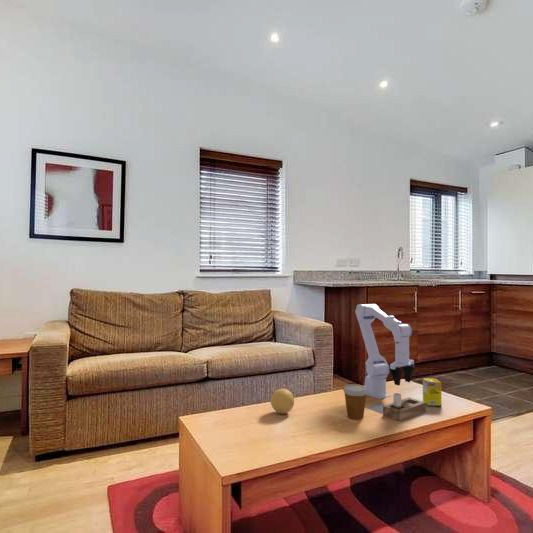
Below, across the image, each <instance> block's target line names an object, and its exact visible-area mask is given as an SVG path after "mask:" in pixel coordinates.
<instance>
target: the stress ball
mask: <svg viewBox="0 0 533 533" xmlns="http://www.w3.org/2000/svg"><path fill="white" fill-rule="evenodd" d="M270 405H271V407H272V408H273V410H274V411H275V412H276V413H278V414H280V415H286V414H287V413H289V412H291V410H293V408H294V405H295V397H294V395H293V393H292V392H291V391H290V390H289V389H287V388H278V389H276V390H274V391H273V393H272V394H271V398H270Z"/></svg>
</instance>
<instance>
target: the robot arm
mask: <svg viewBox="0 0 533 533" xmlns="http://www.w3.org/2000/svg"><path fill="white" fill-rule="evenodd" d="M355 308H356V309H355V311H354V313H355V316H356V319H357V322H358V324H359V325H358V326H359V328H360V331H361V336H362V339H363V342H364V346H365V349H366V352H367V356H368V358H367V360H366V361H365V370H366V374H367V375H366V376H365V379H364V387H366V390H367V394H366V396H369V397H372V398H375V399H378V400H382V399H385V398H388V397H390V394H388V393H387V378H388V375H389V374H391V376H392V379H393V382H394V383H393V384H394V385H395V386H400V385H401V378H402V373H403V374H404V375H403V377H404V378H403V379H404V381H405V382H407V383H411V380H412V376H413V373H414V371H415V369H416V365H415V360H414V359H410V337H411V336H412V334H413V330H412V326H411V325H410V324H409V323H403V322H402V321H401V320H398V319H397V318H395V316H394V315H387V314H386V313H385V312H384V311H383V310H381V309H380V306H379V305H377V304H376V303H365V304H361V303H359V304H357V305H356V307H355ZM375 319H378V320H380V321H381V322H382V323H383V326H384V327H385V328H386V329H387V330H389V331H390V332H391V333H392V336H393V341H394V345H395V346H394V352H395V353H394V354H395V356H394V357H395V361H394V362H391V363H390V364H388V362H387V359H386V358H385V357H383V356H382V355H381V354H380V351H379V347H378V345H377V341H376V337H375V334H374V331H373V328H372V325H371V324H372V323H373V322H374V321H375ZM400 368H402V369H400Z"/></svg>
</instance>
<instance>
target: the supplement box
mask: <svg viewBox="0 0 533 533" xmlns="http://www.w3.org/2000/svg"><path fill="white" fill-rule="evenodd" d="M422 401H423V402H426V407H431V408H434V407H435V408H442V382H441V381H439V379H437V378H422Z"/></svg>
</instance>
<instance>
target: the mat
mask: <svg viewBox="0 0 533 533" xmlns="http://www.w3.org/2000/svg"><path fill="white" fill-rule="evenodd" d="M385 405H386V404H384V403H381V402H378V403H375V404H372V405H369V406H365V408H364V409H367V410H370V411H374V412H376V413H379V414H381V415H383V406H385Z"/></svg>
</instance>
